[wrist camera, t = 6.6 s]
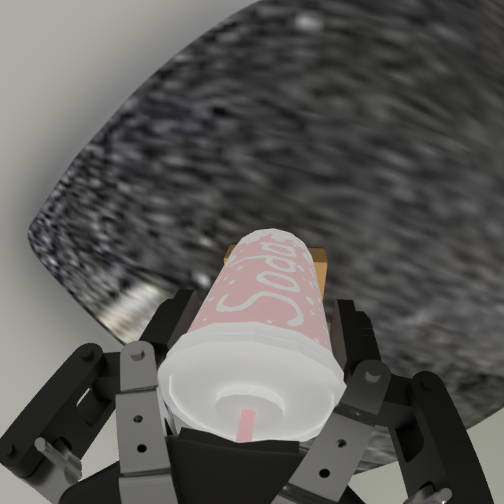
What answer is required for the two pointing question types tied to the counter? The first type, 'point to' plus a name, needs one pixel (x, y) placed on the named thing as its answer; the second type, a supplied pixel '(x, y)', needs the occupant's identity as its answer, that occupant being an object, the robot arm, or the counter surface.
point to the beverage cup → (257, 348)
